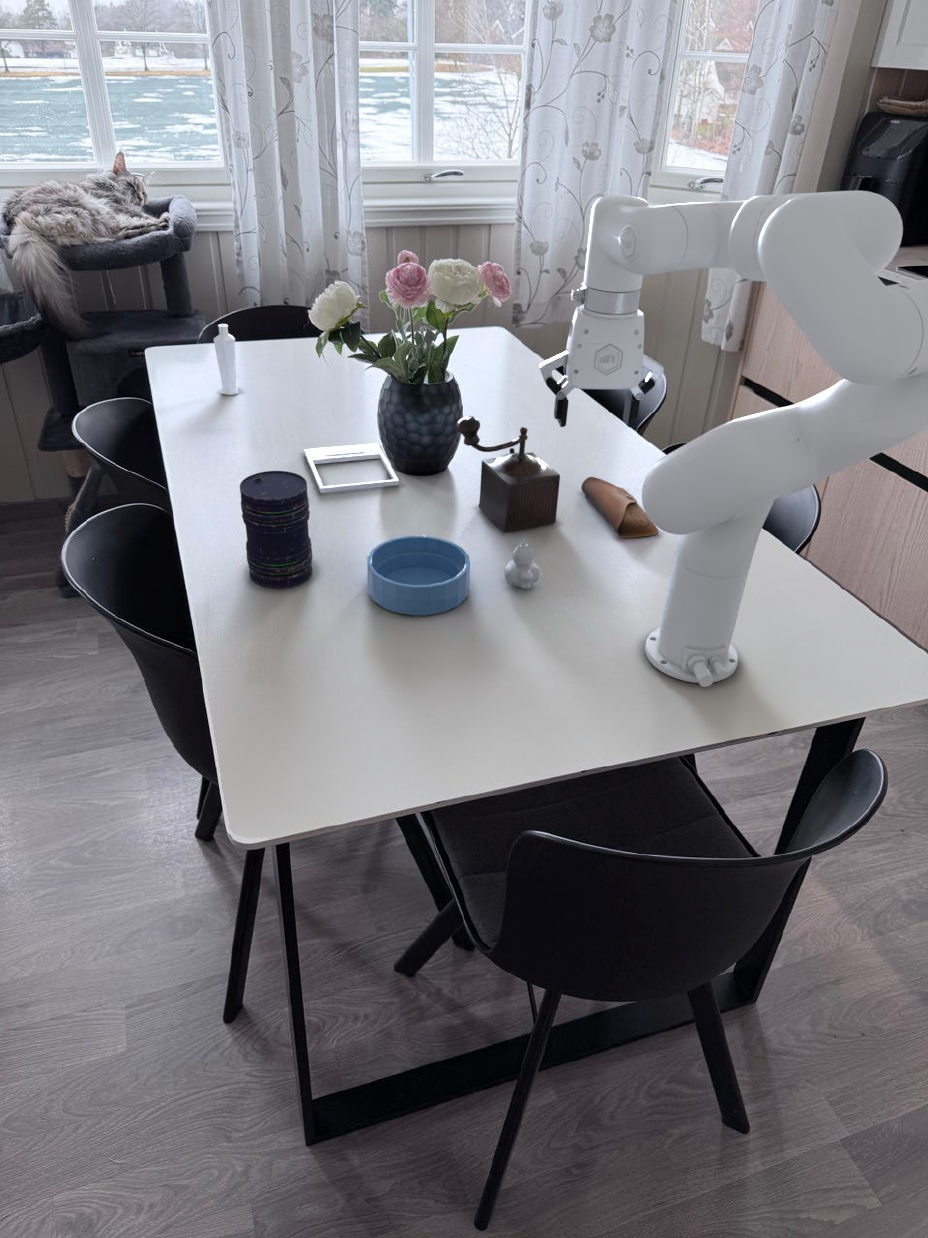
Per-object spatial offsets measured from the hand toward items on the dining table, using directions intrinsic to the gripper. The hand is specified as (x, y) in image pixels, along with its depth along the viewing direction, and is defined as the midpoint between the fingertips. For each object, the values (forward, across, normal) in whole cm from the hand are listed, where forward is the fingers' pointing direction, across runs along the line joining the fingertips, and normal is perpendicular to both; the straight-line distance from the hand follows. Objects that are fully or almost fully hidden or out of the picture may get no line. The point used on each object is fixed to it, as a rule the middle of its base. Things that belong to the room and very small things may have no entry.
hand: (594, 423), depth 127 cm
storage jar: (+26, -46, +2) cm, 53 cm away
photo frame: (+25, -36, +40) cm, 59 cm away
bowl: (+25, -25, -4) cm, 36 cm away
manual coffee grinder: (+26, -9, +20) cm, 34 cm away
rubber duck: (+26, -9, -3) cm, 27 cm away
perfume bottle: (+26, -64, +82) cm, 107 cm away
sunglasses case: (+26, +12, +21) cm, 35 cm away
